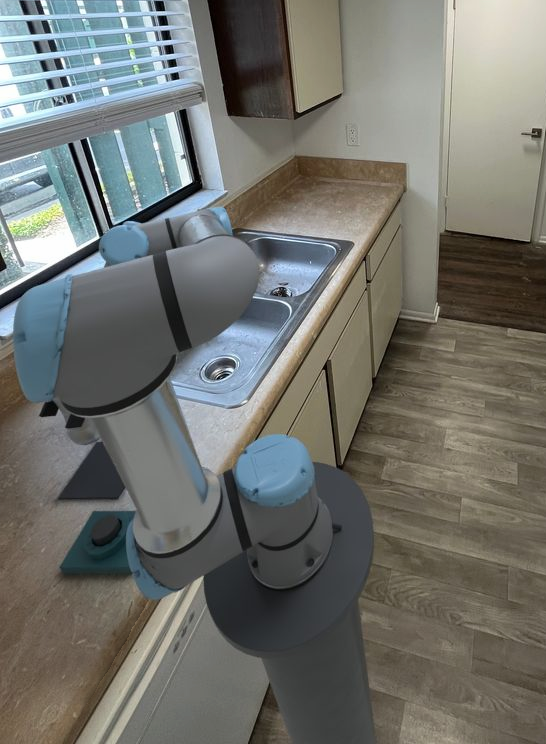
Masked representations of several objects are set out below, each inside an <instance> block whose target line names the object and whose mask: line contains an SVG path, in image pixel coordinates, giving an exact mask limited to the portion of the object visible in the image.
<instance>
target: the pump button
mask: <svg viewBox="0 0 546 744" xmlns="http://www.w3.org/2000/svg"><path fill="white" fill-rule="evenodd" d="M120 528H121V525H120V523H119V521H118V519H117V517H116V516H115V515H112V514H110V515H106V516H104V517H102V518H101V519H99V520H98V521H97V522H96V523H95V524H94V526H93V528H92V530H91V537H92V539H93V540H94V542H95V544H96V545H99V546H103V545H106V544H108V543H110V542H111V541H112V540H114V539H115V538H116V536H117V535H118V533H119V531H120Z"/></svg>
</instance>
